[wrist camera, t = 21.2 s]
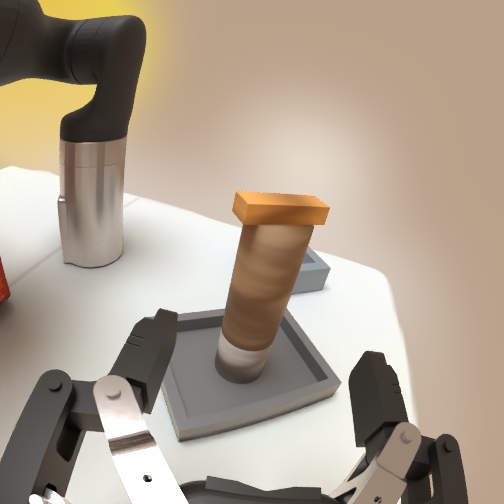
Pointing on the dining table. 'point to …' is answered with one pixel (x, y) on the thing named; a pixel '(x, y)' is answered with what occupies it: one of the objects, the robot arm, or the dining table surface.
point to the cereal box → (3, 285)
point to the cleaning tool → (263, 277)
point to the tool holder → (311, 273)
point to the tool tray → (239, 395)
